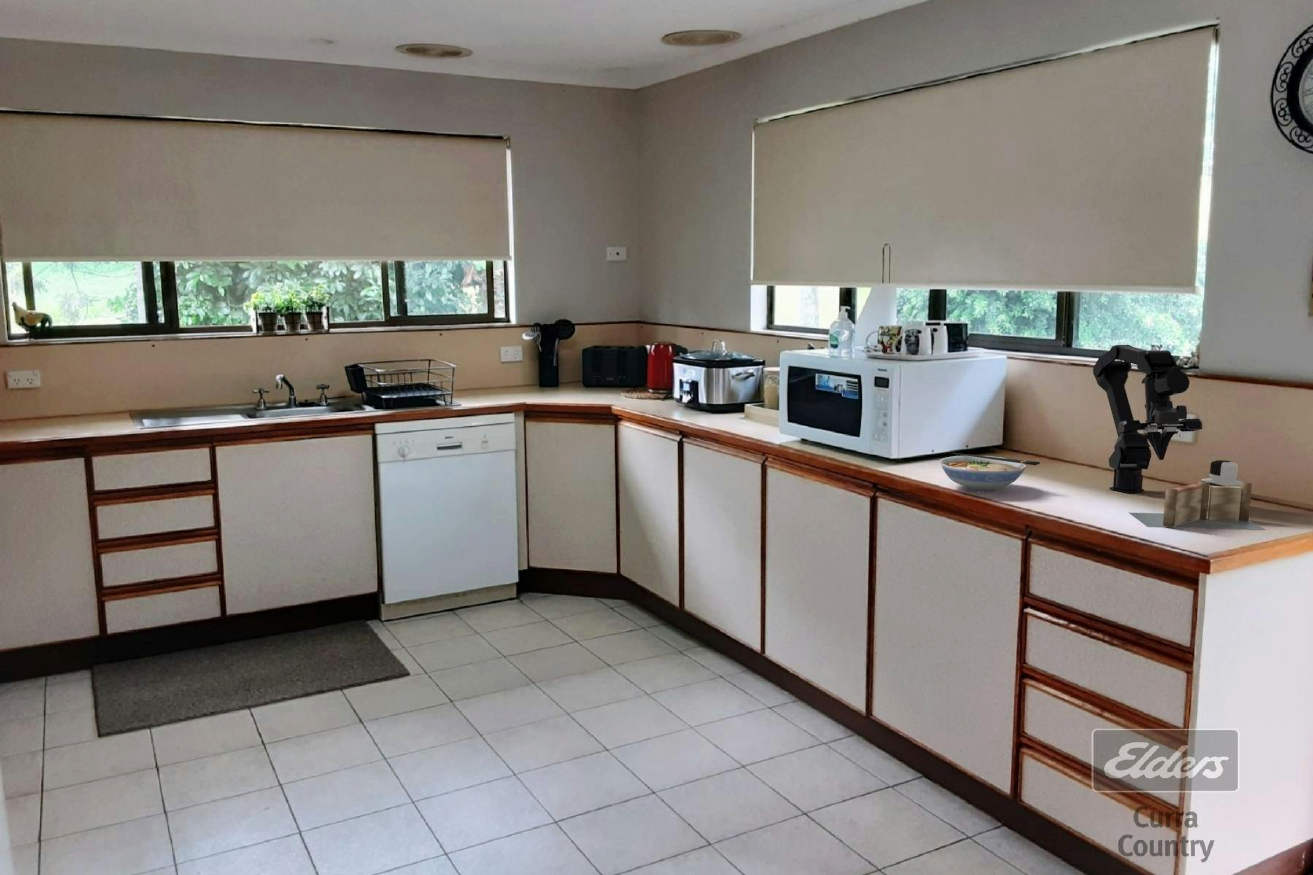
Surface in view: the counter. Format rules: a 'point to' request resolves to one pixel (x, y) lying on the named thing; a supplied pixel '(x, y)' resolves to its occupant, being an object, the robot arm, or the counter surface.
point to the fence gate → (1182, 504)
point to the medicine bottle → (1223, 474)
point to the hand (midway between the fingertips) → (1161, 459)
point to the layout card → (1195, 522)
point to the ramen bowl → (983, 471)
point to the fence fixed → (1225, 502)
